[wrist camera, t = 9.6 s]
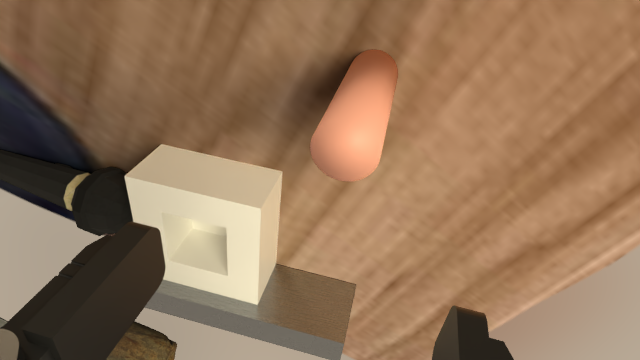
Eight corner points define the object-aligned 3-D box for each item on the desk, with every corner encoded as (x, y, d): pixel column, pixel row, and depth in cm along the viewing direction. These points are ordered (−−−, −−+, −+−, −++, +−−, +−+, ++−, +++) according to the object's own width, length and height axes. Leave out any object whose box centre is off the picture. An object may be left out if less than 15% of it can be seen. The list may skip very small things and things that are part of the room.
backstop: (131, 245, 40) (89, 291, 35) (127, 226, 38) (83, 271, 34) (351, 303, 37) (339, 362, 32) (356, 284, 36) (343, 343, 31)
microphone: (-1, 146, 41) (165, 203, 37) (-52, 189, 38) (125, 257, 33) (-39, 105, 37) (144, 163, 32) (-99, 149, 34) (95, 221, 29)
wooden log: (73, 321, 51) (30, 370, 46) (62, 285, 47) (13, 334, 42) (184, 358, 50) (154, 413, 44) (182, 323, 46) (149, 379, 40)
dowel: (346, 92, 26) (307, 173, 18) (353, 45, 25) (313, 111, 16) (392, 101, 26) (373, 188, 18) (402, 54, 24) (387, 126, 16)
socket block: (174, 235, 38) (143, 274, 34) (163, 142, 32) (124, 176, 28) (276, 261, 37) (257, 304, 33) (283, 169, 31) (261, 208, 27)
